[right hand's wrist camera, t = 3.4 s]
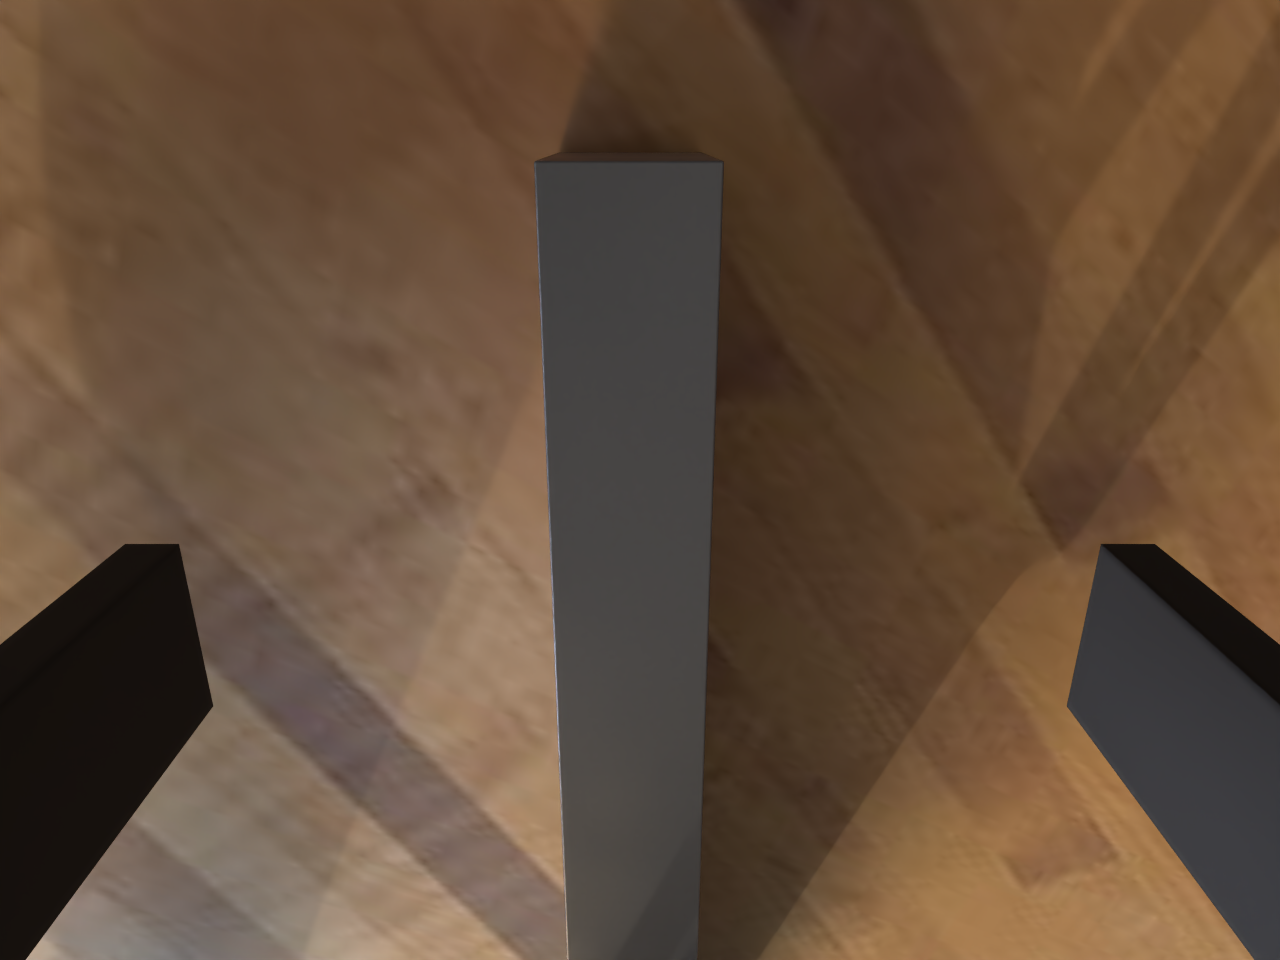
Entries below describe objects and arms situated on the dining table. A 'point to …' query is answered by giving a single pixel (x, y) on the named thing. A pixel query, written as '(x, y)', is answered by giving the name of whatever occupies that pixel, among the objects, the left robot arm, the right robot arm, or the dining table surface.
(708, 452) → the beam
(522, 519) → the dining table surface
